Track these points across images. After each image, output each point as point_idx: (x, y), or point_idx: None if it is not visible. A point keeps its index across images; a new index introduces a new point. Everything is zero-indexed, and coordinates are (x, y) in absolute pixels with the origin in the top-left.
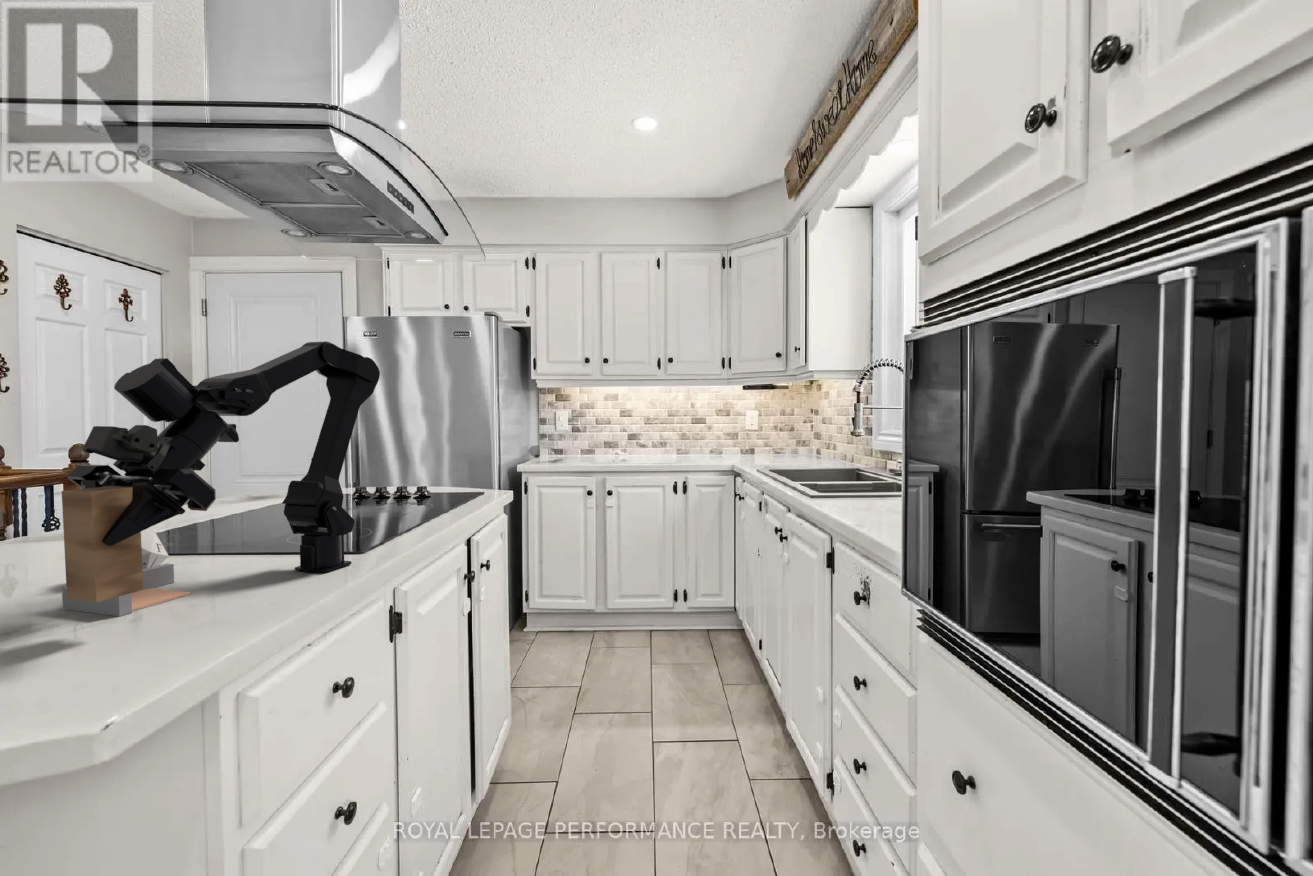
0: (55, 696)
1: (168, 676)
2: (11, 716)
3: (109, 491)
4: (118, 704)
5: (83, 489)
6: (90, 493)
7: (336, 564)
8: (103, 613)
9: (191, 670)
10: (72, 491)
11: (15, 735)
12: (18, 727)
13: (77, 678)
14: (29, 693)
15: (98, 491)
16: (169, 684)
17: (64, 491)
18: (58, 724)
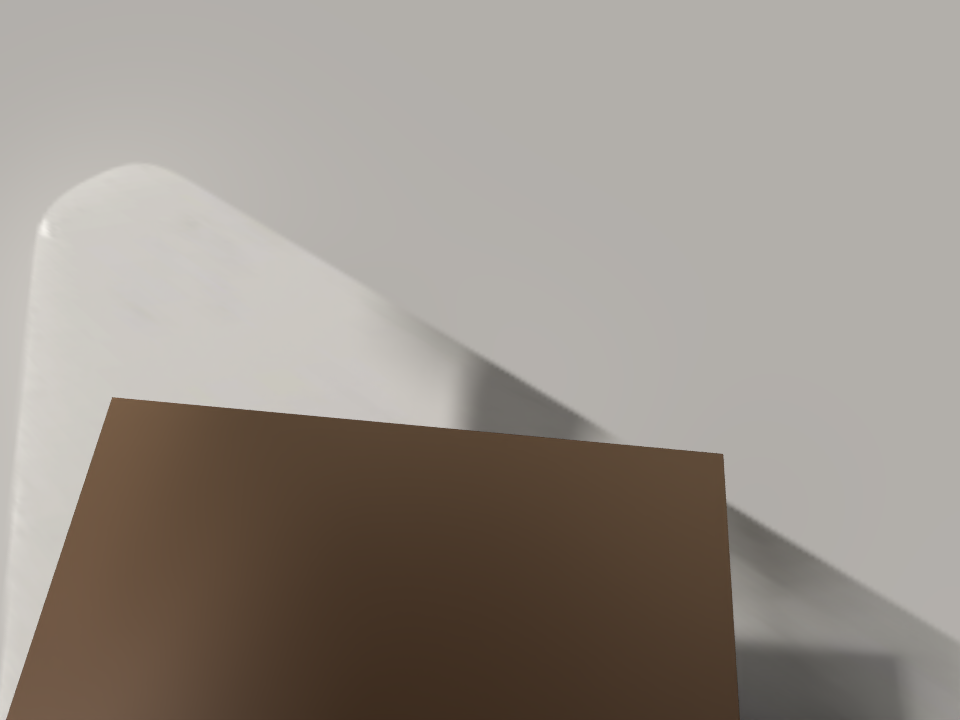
0: (226, 268)
1: (72, 374)
2: (227, 205)
3: (37, 644)
4: (76, 265)
5: (620, 685)
6: (135, 402)
7: None
8: None
9: (42, 409)
10: (522, 453)
11: (156, 166)
12: (177, 183)
13: (263, 332)
14: (289, 268)
15: (124, 527)
16: (40, 345)
17: (665, 451)
18: (120, 199)
